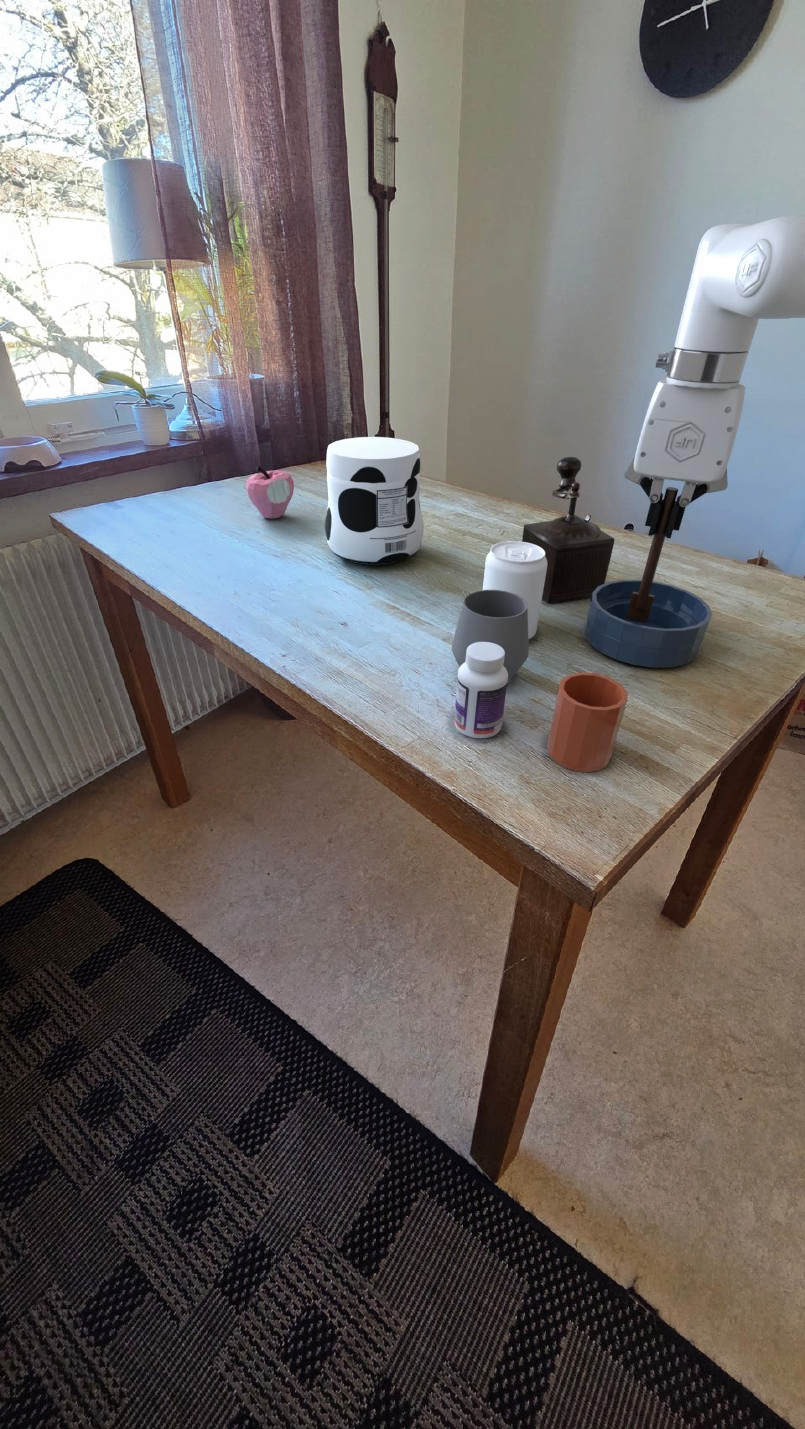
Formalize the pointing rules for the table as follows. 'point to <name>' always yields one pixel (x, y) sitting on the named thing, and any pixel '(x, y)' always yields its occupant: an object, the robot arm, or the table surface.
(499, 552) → the beverage can
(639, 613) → the stirring stick
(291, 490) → the apple
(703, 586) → the table surface
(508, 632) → the cup
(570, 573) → the manual coffee grinder
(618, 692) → the utensil pot
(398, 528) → the milk container
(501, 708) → the pill bottle
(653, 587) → the bowl
